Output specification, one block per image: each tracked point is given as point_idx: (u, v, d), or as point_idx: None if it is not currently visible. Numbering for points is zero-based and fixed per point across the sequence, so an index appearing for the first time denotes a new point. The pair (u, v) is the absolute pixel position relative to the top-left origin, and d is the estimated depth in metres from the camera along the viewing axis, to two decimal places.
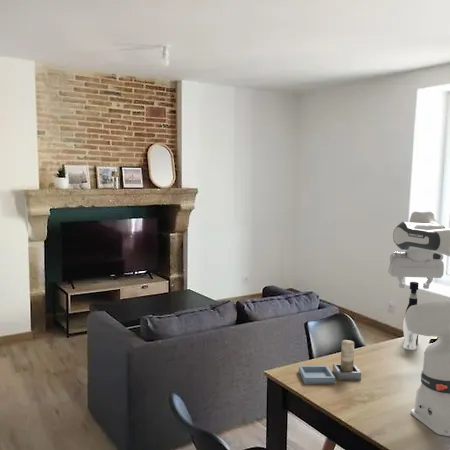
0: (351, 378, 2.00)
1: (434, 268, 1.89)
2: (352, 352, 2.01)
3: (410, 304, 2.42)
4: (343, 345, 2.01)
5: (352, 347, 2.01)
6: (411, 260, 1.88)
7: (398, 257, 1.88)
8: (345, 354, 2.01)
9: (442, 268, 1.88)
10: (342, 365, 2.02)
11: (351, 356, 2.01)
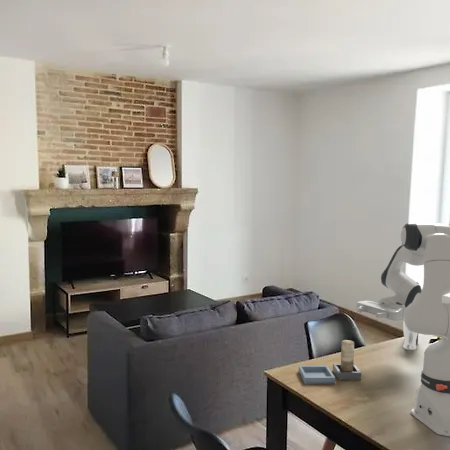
0: (351, 378, 2.00)
1: (392, 309, 2.09)
2: (352, 352, 2.01)
3: None
4: (343, 345, 2.01)
5: (352, 347, 2.01)
6: (378, 303, 2.18)
7: None
8: (345, 354, 2.01)
9: (399, 309, 2.07)
10: (342, 365, 2.02)
11: (351, 356, 2.01)
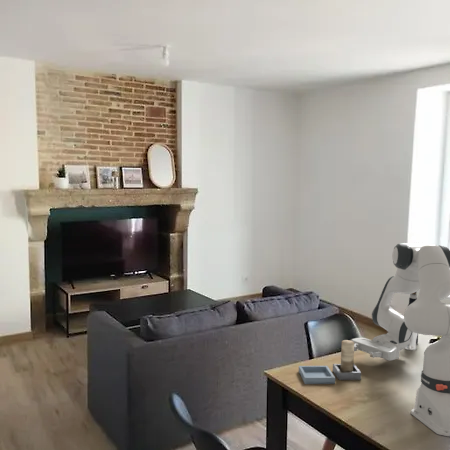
0: (351, 378, 2.00)
1: (386, 348, 2.09)
2: (352, 352, 2.01)
3: None
4: (343, 345, 2.01)
5: (352, 347, 2.01)
6: (372, 340, 2.18)
7: None
8: (345, 354, 2.01)
9: (393, 349, 2.07)
10: (342, 365, 2.02)
11: (351, 356, 2.01)
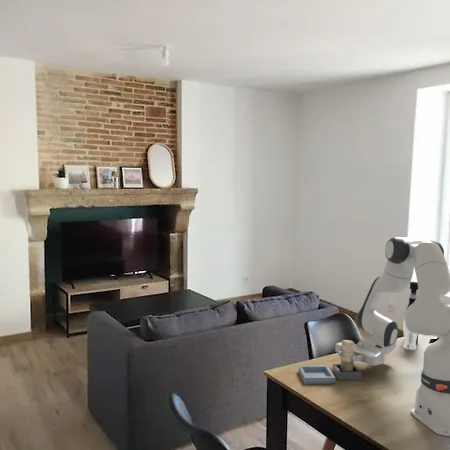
0: (351, 378, 2.00)
1: (371, 353, 2.03)
2: (352, 352, 2.01)
3: (410, 304, 2.42)
4: (343, 345, 2.01)
5: (352, 347, 2.01)
6: (357, 345, 2.12)
7: None
8: (345, 354, 2.01)
9: (378, 354, 2.00)
10: (342, 365, 2.02)
11: (351, 356, 2.01)
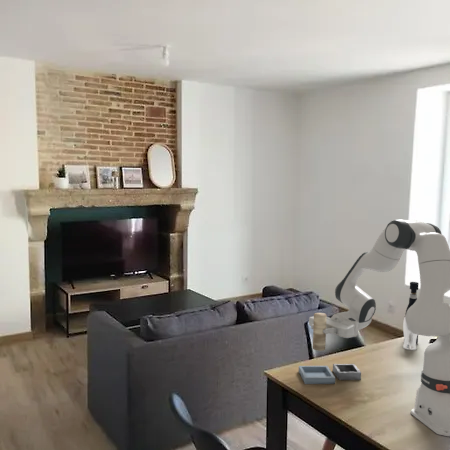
0: (351, 378, 2.00)
1: (344, 325, 1.99)
2: (324, 324, 1.97)
3: (410, 304, 2.42)
4: (315, 317, 1.98)
5: (324, 319, 1.97)
6: (331, 318, 2.08)
7: None
8: (317, 326, 1.97)
9: (350, 326, 1.97)
10: (314, 338, 1.99)
11: (323, 328, 1.97)
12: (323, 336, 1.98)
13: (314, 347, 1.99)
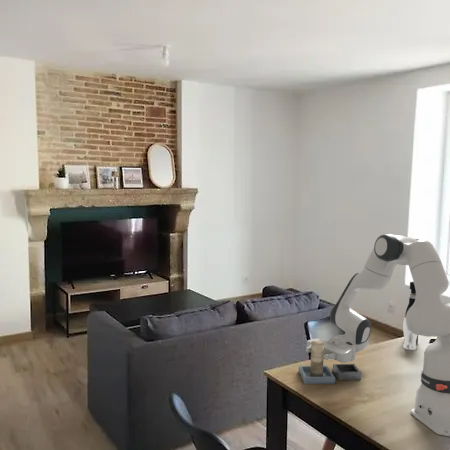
0: (351, 378, 2.00)
1: (341, 349, 2.00)
2: (322, 353, 1.98)
3: (410, 304, 2.42)
4: (313, 345, 1.99)
5: (322, 347, 1.98)
6: (329, 342, 2.09)
7: None
8: (314, 354, 1.98)
9: (348, 350, 1.97)
10: (312, 366, 2.00)
11: (321, 357, 1.98)
12: (320, 364, 1.99)
13: (312, 375, 2.00)
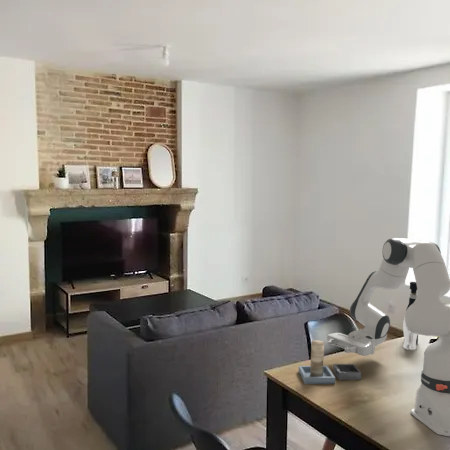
0: (351, 378, 2.00)
1: (361, 343, 2.07)
2: (322, 352, 1.98)
3: (410, 304, 2.42)
4: (313, 345, 1.99)
5: (322, 347, 1.98)
6: (348, 336, 2.16)
7: None
8: (314, 354, 1.98)
9: (368, 344, 2.05)
10: (312, 366, 2.00)
11: (321, 356, 1.98)
12: (321, 364, 1.99)
13: (312, 375, 2.00)
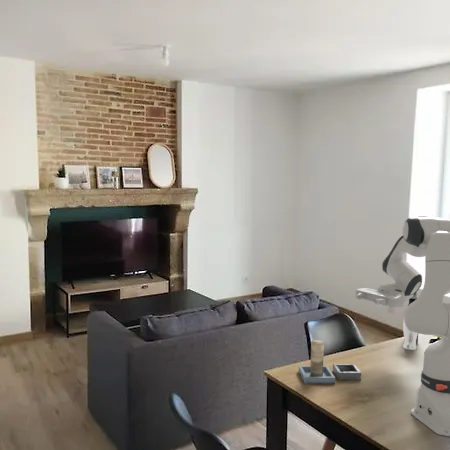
0: (351, 378, 2.00)
1: (391, 295, 2.08)
2: (321, 352, 1.98)
3: None
4: (312, 345, 1.99)
5: (321, 347, 1.98)
6: (377, 290, 2.17)
7: None
8: (314, 354, 1.98)
9: (398, 296, 2.06)
10: (312, 366, 2.00)
11: (320, 356, 1.98)
12: (320, 364, 1.99)
13: (312, 375, 2.00)
